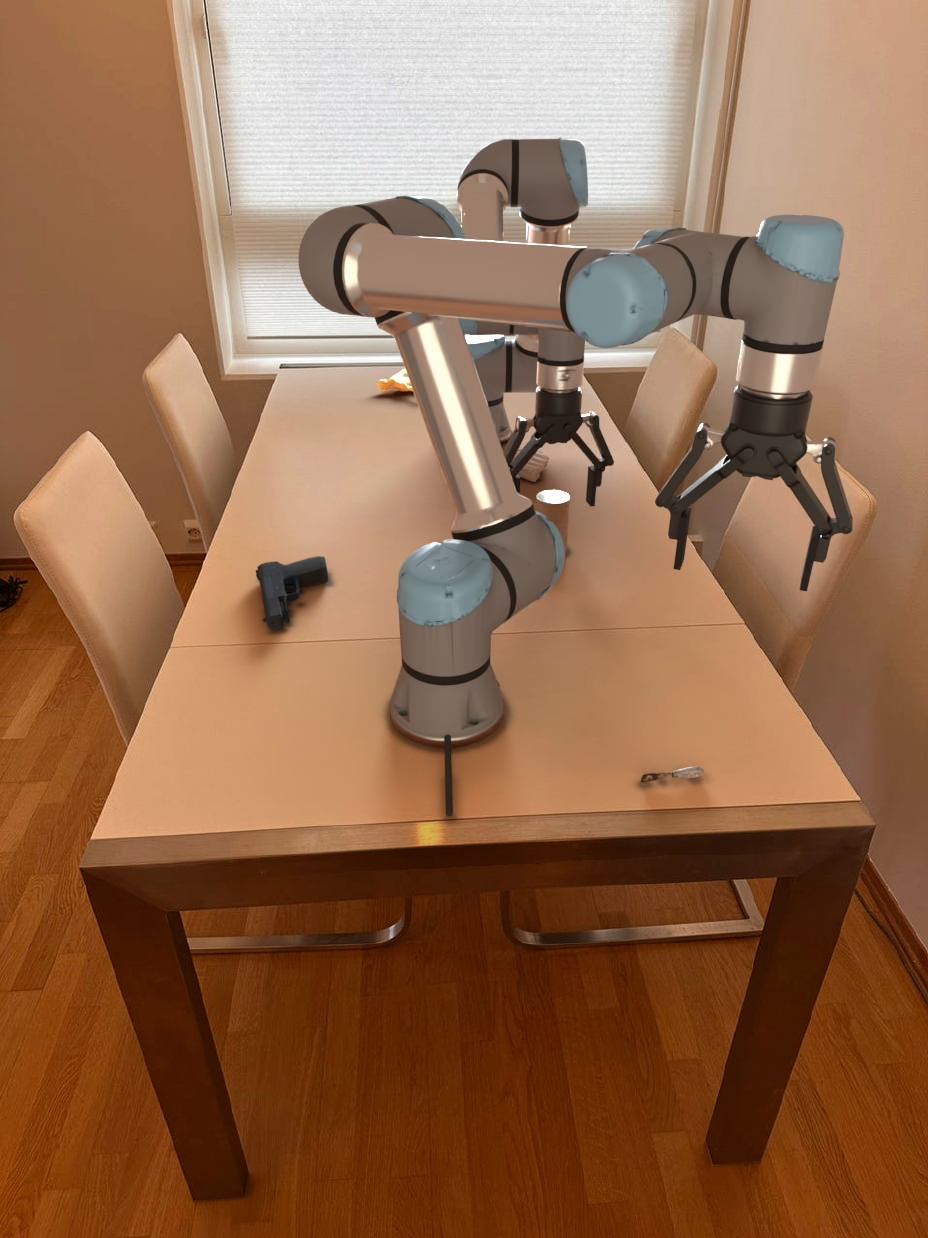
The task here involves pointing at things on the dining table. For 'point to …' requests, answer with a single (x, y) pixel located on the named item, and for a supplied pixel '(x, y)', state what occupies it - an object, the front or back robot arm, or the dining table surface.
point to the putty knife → (674, 774)
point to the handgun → (287, 585)
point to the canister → (555, 510)
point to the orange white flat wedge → (396, 382)
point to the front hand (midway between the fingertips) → (739, 574)
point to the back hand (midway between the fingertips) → (553, 507)
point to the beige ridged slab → (533, 466)
